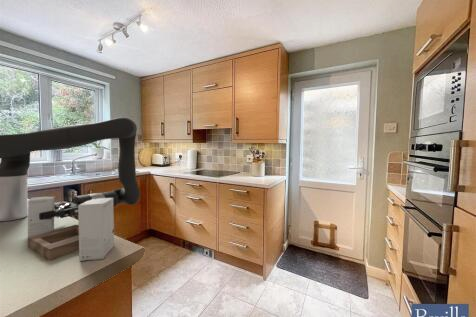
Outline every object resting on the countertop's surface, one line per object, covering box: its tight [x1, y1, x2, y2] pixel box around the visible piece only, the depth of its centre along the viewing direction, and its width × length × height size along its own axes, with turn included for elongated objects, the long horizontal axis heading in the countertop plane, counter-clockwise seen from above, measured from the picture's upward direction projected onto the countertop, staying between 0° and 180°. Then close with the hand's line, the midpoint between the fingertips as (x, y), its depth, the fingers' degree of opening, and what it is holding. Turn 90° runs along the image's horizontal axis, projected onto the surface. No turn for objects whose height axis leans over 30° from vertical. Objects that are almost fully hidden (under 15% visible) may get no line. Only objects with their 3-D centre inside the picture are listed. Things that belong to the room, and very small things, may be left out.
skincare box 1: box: [27, 195, 56, 238], centre depth 69 cm, size 6×4×12 cm
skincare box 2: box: [78, 198, 115, 262], centre depth 57 cm, size 8×6×15 cm
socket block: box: [27, 224, 79, 261], centre depth 62 cm, size 14×12×3 cm
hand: (34, 214), depth 67 cm, fingers open, 8 cm apart
